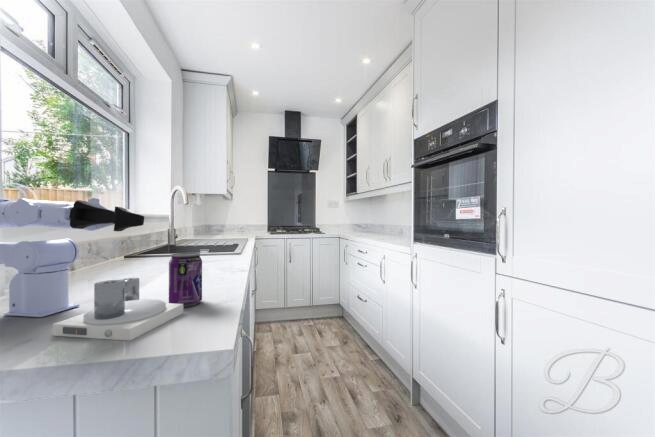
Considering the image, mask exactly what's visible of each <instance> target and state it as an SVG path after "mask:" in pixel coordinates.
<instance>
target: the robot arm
mask: <svg viewBox="0 0 655 437" xmlns="http://www.w3.org/2000/svg"><path fill="white" fill-rule="evenodd" d="M144 222H145V216H144V215H142V214H137V213H133V212H131V211H129V210H127V209H126V208H124V207H120V206H114V210H111V209H108V208H107V207H105V206H103V205H101V204H100V199H99V198H95V197H89V198H88V200H87V201H86V200H81V199H78V200H75V201H62V200H61V201H60V200H59V201H58V200H52V201H51V200H43V199H42V200H41V199H28V198H25V197H24V198H23V197H22V198H21V197H20V198H18V199H17V200H12V201H11V200H10V199H9V198H8V199H7V198H0V228H14V227H15V228H17V227H18V228H21V227H32V226H34V227H37V226H39V227H40V226H44V227H50V228H62V229H75V230H84V231H91V232H93V231H97V230H100V229H103V228H107V227H109V226H113V225H114V226H113V232H122V231H123V232H124V231H125V230H127V229H129V228H134V227H141V226H144ZM79 251H80V250H79V247H78V245H77V243H76V242H75V241H74V240H73V239H71V238H59V239H51V240H50V239H49V240H37V241H33V240H32V241H29V240H28V241H27V240H25V241H19V242H17V241H16V242H14V241H13V242H9V241H7V242H6V241H0V265H4V266H5V267H6V268H8V267H9V268H14V269H15V270H17V272H18V273H16V274H15V275H14V276H13V277H12V279H11V280H10V281H9V286H8V292H9V293H8V311H5V312H4V313H3V315H4V316H14V317H15V316H16V317H34V318H42V317H46V316H49V315H53V314H56V313H60V312H63V311H66V310H70V309H73V308H76V307H79V306H80V303H76V302H75V303H72V302H71V303H70V302H69V300H70V299H69V294H70V293H69V292H70V291H69V289H70V288H69V287H70V285H69V284H70V283H69V278H70V277H69V272H70V271H69V269H71V268H73V264H74V263H75V262H76V261H77V259H78V258H79V254H80V252H79Z"/></svg>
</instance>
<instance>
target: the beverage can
mask: <svg viewBox="0 0 655 437" xmlns="http://www.w3.org/2000/svg"><path fill="white" fill-rule="evenodd" d="M200 255H201V253H200V252H192V251H191V252H178V253H177V252H175V253H171V255H170V256H171V258H170V260H169V262H168V303H175V304H183V308H188V307H192V306H195V305H197V304H198V303H199V302H202V300H203V260H202V258H201V256H200Z"/></svg>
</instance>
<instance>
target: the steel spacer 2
mask: <svg viewBox="0 0 655 437" xmlns="http://www.w3.org/2000/svg"><path fill="white" fill-rule="evenodd" d="M118 280H125V301H131V300H140V277H126V278H119V279H118Z"/></svg>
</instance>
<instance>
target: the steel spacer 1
mask: <svg viewBox="0 0 655 437" xmlns="http://www.w3.org/2000/svg"><path fill="white" fill-rule="evenodd" d="M93 286H94V289H93V290H94V293H93V297H94V306H93V307H94V308H93V309H94V319H97V320H105V319H112V318H116V317H120V316H122V315H124V314H125V280H119V279H112V280H111V279H110V280H109V279H108V280H104V281H98V282H95V283H94V285H93Z"/></svg>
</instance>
